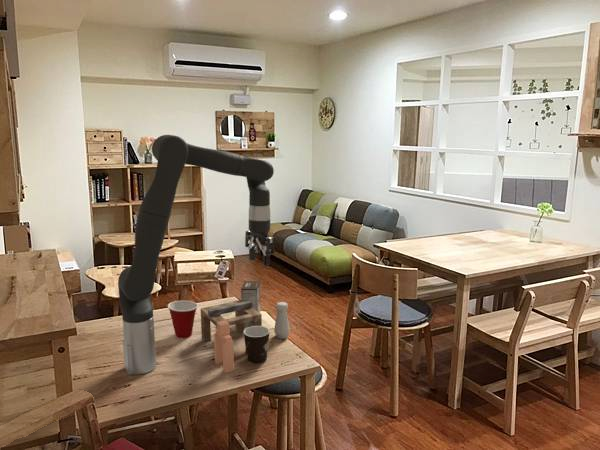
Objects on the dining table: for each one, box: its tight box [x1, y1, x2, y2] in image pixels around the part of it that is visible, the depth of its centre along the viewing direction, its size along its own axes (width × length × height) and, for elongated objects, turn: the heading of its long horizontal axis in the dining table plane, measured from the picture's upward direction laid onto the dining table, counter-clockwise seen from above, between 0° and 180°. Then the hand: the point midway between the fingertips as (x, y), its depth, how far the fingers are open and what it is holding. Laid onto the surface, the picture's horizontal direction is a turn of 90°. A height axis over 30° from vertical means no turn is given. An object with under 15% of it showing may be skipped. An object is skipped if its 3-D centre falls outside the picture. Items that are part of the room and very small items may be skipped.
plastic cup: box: [167, 300, 199, 339], centre depth 182 cm, size 11×11×12 cm
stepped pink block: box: [213, 320, 235, 373], centre depth 159 cm, size 3×8×15 cm, turn 32°
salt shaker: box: [273, 301, 291, 340], centre depth 181 cm, size 6×6×13 cm
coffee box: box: [240, 280, 261, 329], centre depth 192 cm, size 9×6×16 cm
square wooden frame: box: [200, 299, 263, 343], centre depth 176 cm, size 16×16×14 cm
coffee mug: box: [243, 325, 271, 365], centre depth 163 cm, size 12×9×10 cm
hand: (259, 262), depth 175 cm, fingers open, 8 cm apart
